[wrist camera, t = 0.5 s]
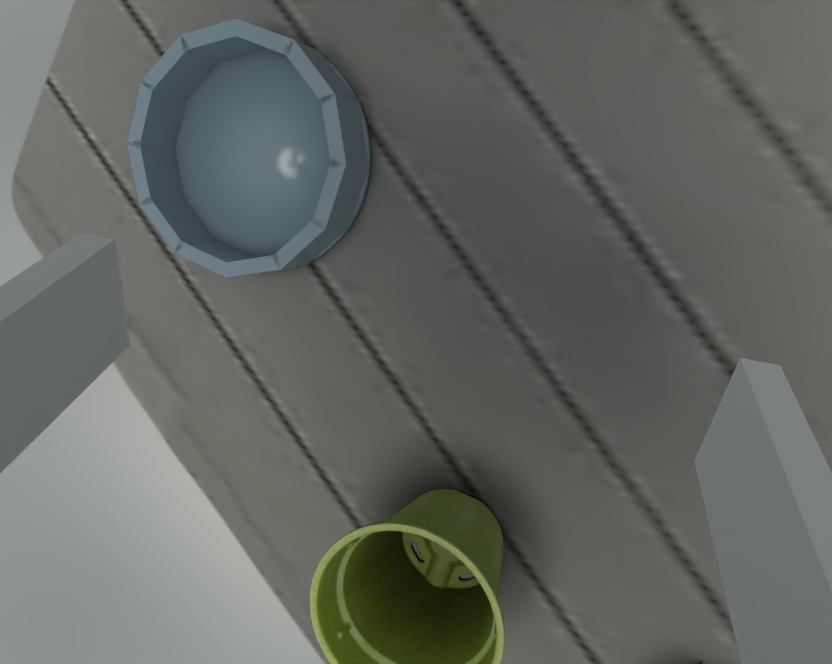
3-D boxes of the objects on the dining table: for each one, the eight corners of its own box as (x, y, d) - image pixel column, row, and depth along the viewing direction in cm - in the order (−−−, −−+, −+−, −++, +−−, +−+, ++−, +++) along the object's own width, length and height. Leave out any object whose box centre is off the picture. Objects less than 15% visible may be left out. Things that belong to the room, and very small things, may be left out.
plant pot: (348, 494, 41) (275, 565, 33) (483, 432, 37) (439, 495, 29) (422, 631, 41) (368, 736, 33) (563, 582, 37) (542, 686, 29)
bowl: (203, 7, 38) (160, -12, 35) (404, 81, 35) (379, 68, 32) (150, 222, 42) (107, 223, 38) (329, 304, 39) (299, 314, 36)
